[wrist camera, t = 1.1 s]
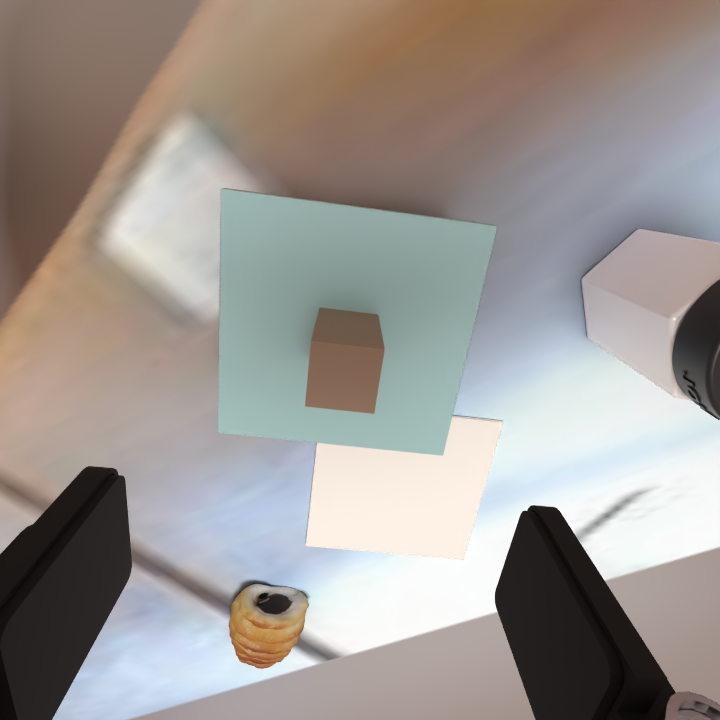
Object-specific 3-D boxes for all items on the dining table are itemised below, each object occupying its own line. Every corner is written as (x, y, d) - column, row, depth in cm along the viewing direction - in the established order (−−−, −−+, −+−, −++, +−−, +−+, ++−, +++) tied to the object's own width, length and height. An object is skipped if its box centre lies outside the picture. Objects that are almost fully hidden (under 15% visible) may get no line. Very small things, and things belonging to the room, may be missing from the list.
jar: (556, 333, 32) (665, 417, 21) (605, 217, 29) (764, 242, 18) (669, 360, 33) (832, 454, 22) (728, 250, 30) (953, 293, 19)
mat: (502, 420, 34) (503, 422, 34) (463, 557, 40) (463, 559, 39) (321, 401, 33) (321, 402, 33) (305, 543, 39) (305, 545, 38)
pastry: (291, 653, 44) (286, 694, 41) (224, 642, 44) (212, 683, 40) (312, 586, 41) (308, 625, 38) (239, 573, 40) (228, 611, 37)
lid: (483, 221, 23) (537, 239, 16) (435, 433, 28) (462, 515, 21) (234, 187, 23) (182, 191, 16) (229, 411, 27) (187, 490, 21)
